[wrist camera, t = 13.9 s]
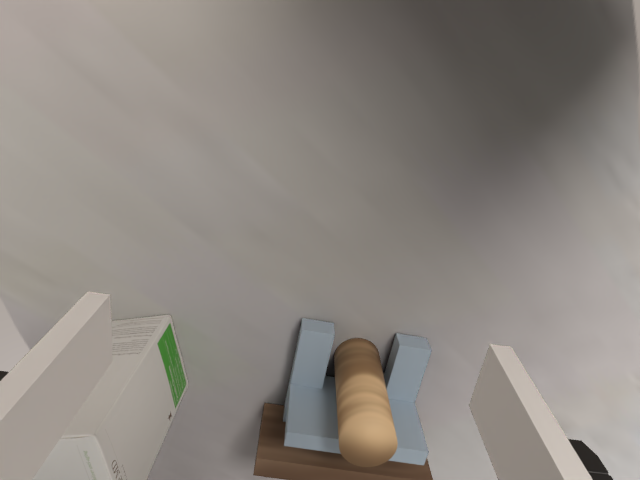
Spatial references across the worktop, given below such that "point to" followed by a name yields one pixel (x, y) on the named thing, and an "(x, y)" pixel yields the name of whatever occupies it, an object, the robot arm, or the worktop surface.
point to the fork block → (320, 393)
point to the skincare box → (124, 407)
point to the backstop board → (318, 458)
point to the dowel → (363, 405)
